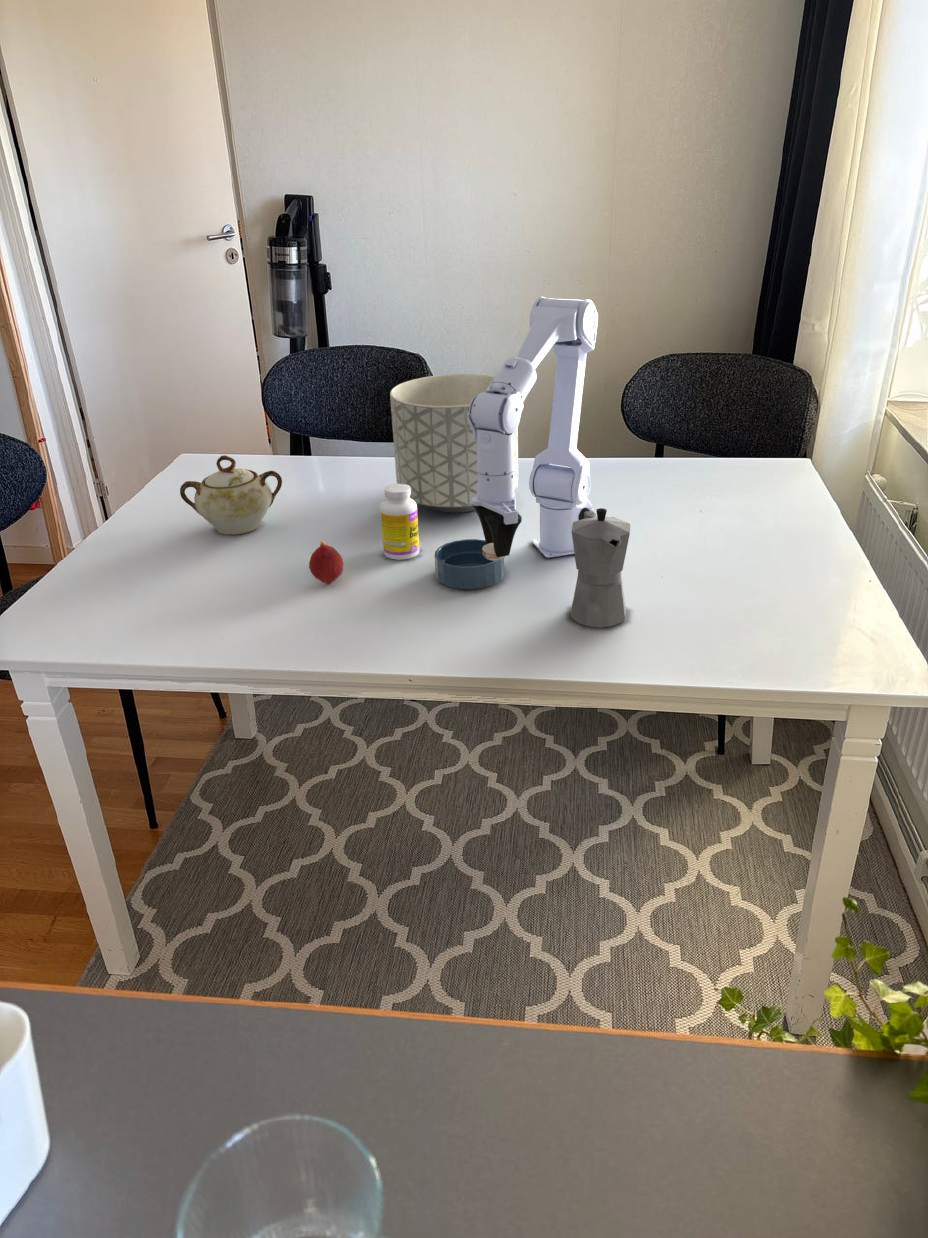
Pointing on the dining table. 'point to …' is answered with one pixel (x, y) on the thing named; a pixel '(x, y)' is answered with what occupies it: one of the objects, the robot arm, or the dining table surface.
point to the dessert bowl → (466, 565)
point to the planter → (439, 440)
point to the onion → (326, 563)
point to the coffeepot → (599, 568)
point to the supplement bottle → (399, 523)
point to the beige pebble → (490, 552)
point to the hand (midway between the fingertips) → (497, 549)
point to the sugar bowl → (233, 498)
